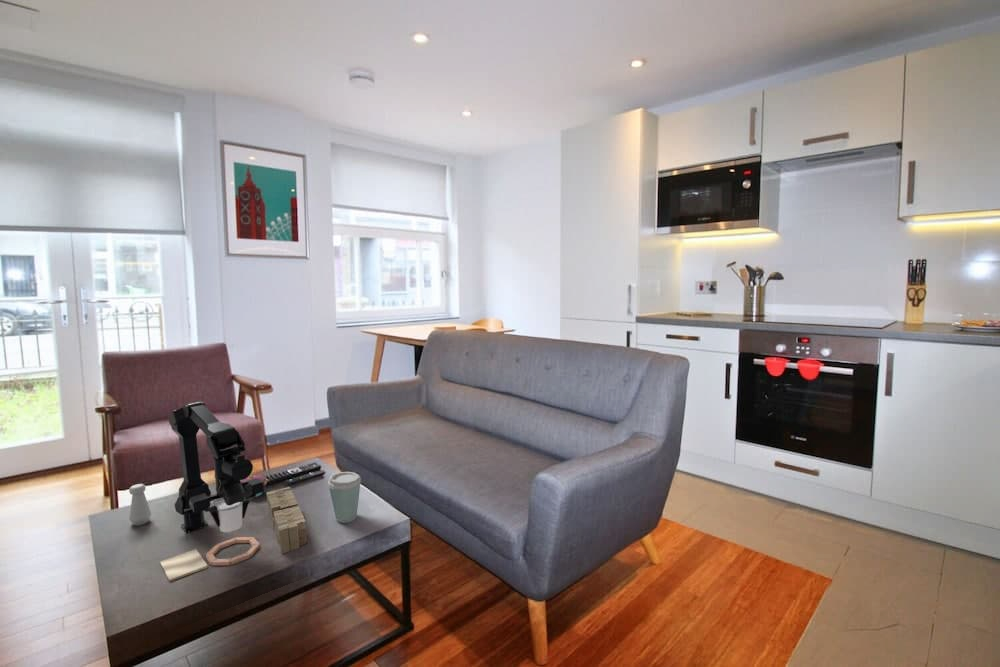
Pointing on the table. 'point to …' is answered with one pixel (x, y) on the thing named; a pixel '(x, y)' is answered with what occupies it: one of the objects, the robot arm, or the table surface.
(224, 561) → the ring coaster
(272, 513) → the block tower
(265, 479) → the cupcake
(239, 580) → the table surface
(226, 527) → the white cylinder
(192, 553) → the beige flat pad
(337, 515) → the disposable coffee cup
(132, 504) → the salt shaker
